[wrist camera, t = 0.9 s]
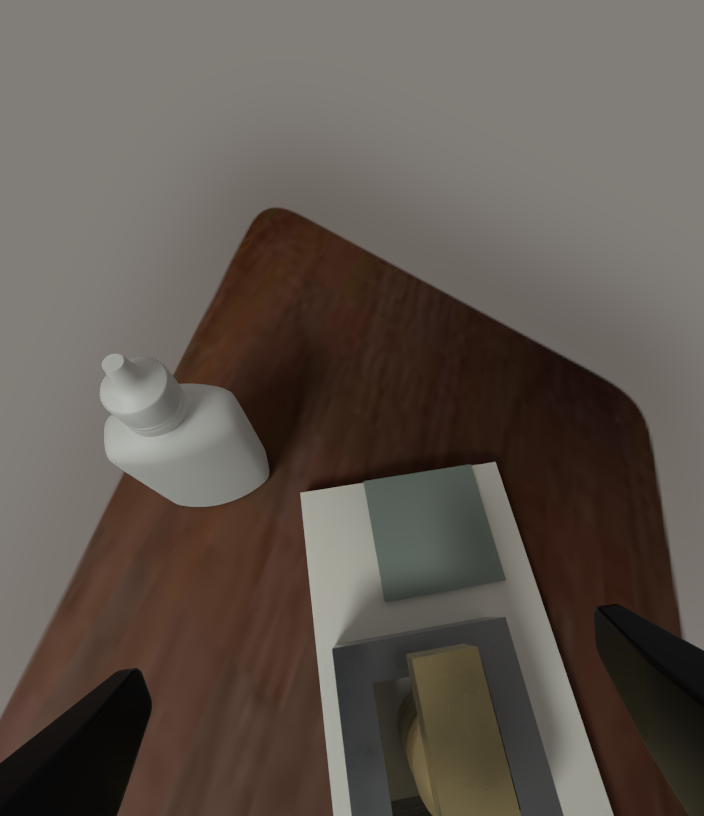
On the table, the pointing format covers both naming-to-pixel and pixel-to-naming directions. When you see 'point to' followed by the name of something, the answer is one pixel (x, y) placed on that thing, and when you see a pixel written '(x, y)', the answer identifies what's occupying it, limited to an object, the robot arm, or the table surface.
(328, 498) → the board
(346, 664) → the grey square frame
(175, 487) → the eye dropper bottle
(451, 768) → the tan flat lever
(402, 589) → the mat
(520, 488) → the table surface
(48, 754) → the robot arm
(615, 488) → the table surface
